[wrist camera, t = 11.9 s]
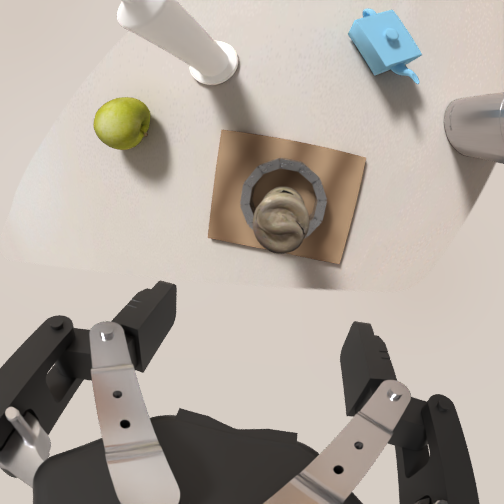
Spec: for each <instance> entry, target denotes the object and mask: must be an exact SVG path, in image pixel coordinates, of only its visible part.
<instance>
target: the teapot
mask: <svg viewBox="0 0 504 504" xmlns="http://www.w3.org/2000/svg"><path fill="white" fill-rule="evenodd" d="M348 35H349V37H350V38H351V39H352V41H353V42H354V44H355V45H356V47H357V48H358V50H359V52H360V53H361V55H362V56H363V58H364V59H365V61H366V63H367V64H368V66H369V68H370V69H371V71H372V73H373V74H374V76H375V75H378V74H380V73H383V72H386V71H388V70H392V71H393V72H394V73H396V74H398V75H403V76H409V77H410V78H412V80H413V81H414V82H415V83H417V84H419V79H418V77H417V75H416V74H415V73H414V72H413V71H412V70H410V69H408V68H407V67H406V66H405V64H408V63H410V62H411V61H413V60H415V59H416V58H418V57H420V56H421V55H422V54H421V52H420V50H419V48H418V47H417V45H416V43H415V42H414V40H413V38H412V37H411V35H410V34H409V32H408V31H407V29H406V28H405V26H404V25H403V23H402V22H401V20H400V19H399V18H398V16H397V15H396V13H395V12H394V11H393V10H389V11H385V12H381V13H378V14H377V13H376V12H375V11H374V10H372V9H365V10H364V11H363V18H361V19H357V20H355V21H354V23H353V25H352V27H351V29H350V31H349V33H348Z"/></svg>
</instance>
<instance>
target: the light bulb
mask: <svg viewBox="0 0 504 504" xmlns="http://www.w3.org/2000/svg"><path fill="white" fill-rule="evenodd" d="M309 224H310V218H309V214H308V211H307V208H306V207H305V204H304V201H303V199H302V197H301V195H300V194H299V193H298V192H297V191H296V190H294V189H292V188H290V187H283V186H282V187H277V188H274V189H273V190H271V191H270V192H268V193H267V195H266V196H265V197H264V199H263V200H262V202H261V203H260V204H259V205H258V207H257V208H256V210H255V213H254V217H253V231H254V234H255V237H256V239H257V241H258V242H259V243H260V245H262V246H263V247H264V248H266V249H267V250H269V251H271V252H274V253H281V254H282V253H289V252H292V251H294V250H296V249H297V248H299V246H300V245H301V244H302V242H303V239H304V238H305V236H306V235H307V233H308V230H309Z"/></svg>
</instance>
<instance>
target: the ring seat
mask: <svg viewBox="0 0 504 504" xmlns="http://www.w3.org/2000/svg"><path fill="white" fill-rule="evenodd" d="M280 168H282V169H287V170H292V171H297V172H299V173H300V174H301V175H303V176H304V177H305V178H306V179H307V180H308V181H309V182H311V183H312V186H313V189H314V192H315V195H316V198H315V203H314V208H313V212H312V213H311V214H310V215H309V218H310V224H309V230H308V233H307V235H306V236H307V237H308V236H309V235H310V234H311V233H312V232H313V231H314V230H315V229H316V228H317V227H318V226H319V225H320V224H321V223H322V222H321V221H323V216H324V212H325V208H326V203H327V200H326V199H327V198H326V195H325V192H324V188H323V185H322V182H321V179H320V178H319V176H318V175H317V174H316V173H315V172H314V171H312V170H311V169H310V168H309V167H308V166H307V165H306V164H304V163H303V162H301V161H297V160H292V159H287V158H282V157H281V158H277V159H274V160H271V161H268V162H266V163H263V164H260V165H259V166H258V167H256V169H255V170H254V171H253V172H252V173H251V175H250V176H249V177H248V178H247V180H246V181H245V182H244V184H243V188H242V194H241V201H240V205H241V206H240V207H241V209H242V212H243V214H244V217H245V220H246V222H247V225H249V227H250V228H251V229H253V217H254V213H255V210H256V208H255V205H254V203H253V194H254V188H255V184H256V183H257V181H258V180H259V179H260V178H261V177H262V175H263V174H265V173H268V172H271V171H274V170H277V169H280ZM306 236H305V238H306Z"/></svg>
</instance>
